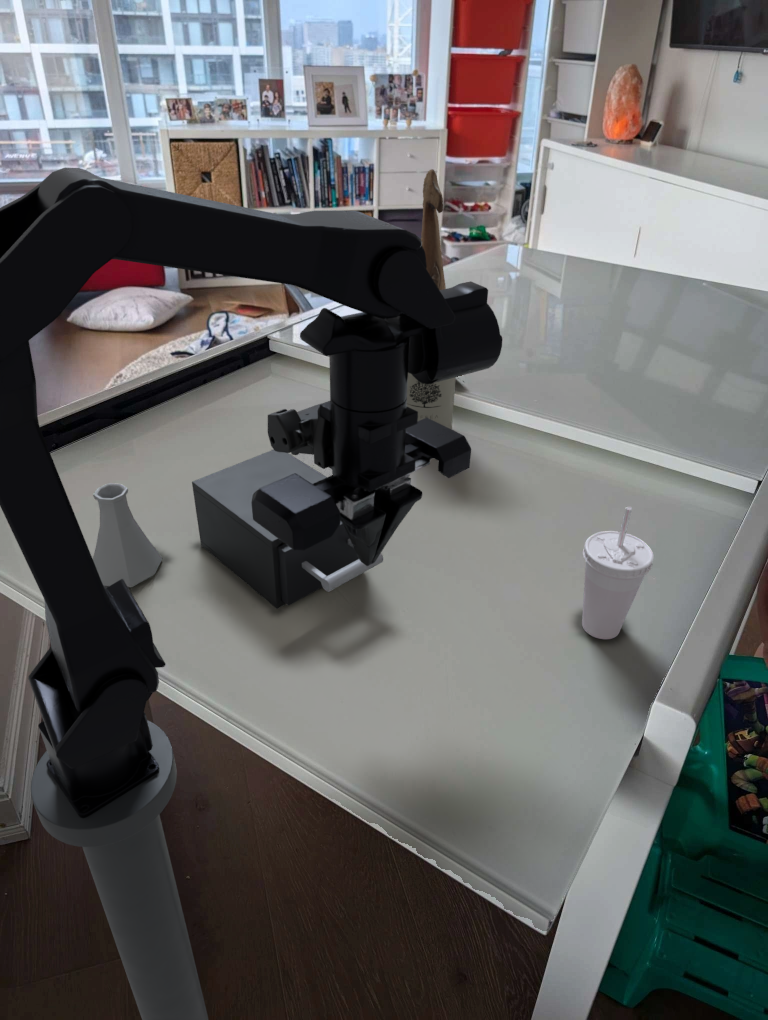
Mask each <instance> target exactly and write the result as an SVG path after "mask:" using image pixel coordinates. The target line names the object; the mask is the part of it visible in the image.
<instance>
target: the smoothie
mask: <svg viewBox="0 0 768 1020" xmlns="http://www.w3.org/2000/svg"><path fill="white" fill-rule="evenodd" d="M632 510H633V508H632V506H626V507H625V508H624V512H623V513H624V514H623V517H622V522H621V525H620V529H619V531H617V530H604V531H603V530H602V531H598V532H595V533H593V534H592V535H590V536H588V538H587V539H586V540H585V542H584V547H583V549H582V557H583V559H584V561H585V564H584V581H583V585H584V587H583V600H582V601H583V602H582V617H581V619H582V620H581V626H582V628H583V630H584V632H586V633H587V635H590V636H591V637H593V638H596V639H600V640H611V639H614V638H616V637H617V636H618V635H619V634H620V632H621V630H622V627H623V625H624V623H625V621H626V619H627V616H628V614H629V612H630V609H631V607H632V605H633V602H634V600H635V598H636V596H637V593H638V592H639V589H640V586H641V585H642V584H643V583H642V582H643V580H644V578H645V576H647V574H648V573H649V572H650V571H651V570H652V569H653V562H654V557H655V555H654V552H653V550H652V548H651V547H650V546H649V545H648V544H647V543H646V541H644V540H642V539H641V538H639V537H637V536H635V535H634V534H630V533H627V532H628V531H627V530H628V526H629V523H630V518H631V515H632Z"/></svg>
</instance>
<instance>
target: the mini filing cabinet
mask: <svg viewBox="0 0 768 1020" xmlns="http://www.w3.org/2000/svg"><path fill="white" fill-rule="evenodd" d="M294 473H296V474H298V475H299V476H301V477H302V478H304V479H305V480H307V481H309V482H310V483H312V484H313V483H316V482H318V481H320V480H322V479H325V478H327V477H328V476H326V475H324V474H323V473H322V472H320V471H318V470H316V469H315V468H314V467H312V466H311V465H308V464H307V463H305V462H303V461H302V460H300V459H299V458H297V457H296V456H295V455H292V454H291V453H284V452H276V451H275V450H274V449H272V450H269V451H265V452H263V453H260V454H259V455H255V456H254V457H251V458H248V459H246V460H243V461H240V462H238V463H236V464H232V465H231V466H227V467H225V468H223V469H221V470H218V471H216V472H215V471H214V472H213V473H211V474H208V475H205V476H203V477H200V478H198V479H195V480H193V481H191V484H192V485H191V486H192V492H193V500H194V505H195V507H194V508H195V513H196V520H197V526H198V533H199V534H198V535H199V540H200V546H201V547H202V548H203V549H205V550H206V551H207V552H208V553H209V554H211V555H212V557H214V558H215V559H216V560H218V561H219V562H220V563H221V564H222V565H224V566H225V567H226V568H227V569H228V570H229V571H231V572H232V573H233V574H234V575H235V576H237V577H238V578H239V579H240V580H241V581H243V582H244V583H245V584H246V585H247V586H249V587H250V588H251V589H252V590H253V591H254V592H256V593H257V594H258V595H259V596H260V597H262V598H263V599H264V600H265V601H266V602H268V603H269V604H270V605H271V606H272V607H274V608H275V609H276V610H279V609H280V608H282V607H284V606H286V605H287V604H286V603H284V602H283V601H282V600H281V587H280V573H279V559H278V547H279V545H280V544H282V543H284V542H282V541H281V540H280V539H278V538H277V537H275V536H274V535H273V534H271V533H270V532H269V531H267V530H266V529H265V528H263V527H262V526H261V525H259V524H258V523H257V522H255V521H254V520H253V514H252V504H251V501H252V496H253V493H255V492H256V491H257V490H258V489H259V488H261V487H264V486H266V485H268V484H271V483H273V482H276V481H278V480H280V479H283V478H285V477H287V476H290V475H292V474H294Z"/></svg>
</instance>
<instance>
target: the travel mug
mask: <svg viewBox="0 0 768 1020" xmlns="http://www.w3.org/2000/svg"><path fill="white" fill-rule="evenodd" d="M456 378H457V377H455V378H451V379H447V380H443V381H440V382H436V383H432V384H424V383H421V382H419V381H418V380H417V379H416V378H415V377H413V376H412V374H410V373H408V384H407V407H409V408H411V409H414V410H416V411H418V421H420V420H422V419H424V418H429V419H431V420H433V421H435V422H437V423H439V424H441V425H443V426H445V427H448V428H450V429H452V430H453V419H454V418H453V417H454V404H455V391H456Z"/></svg>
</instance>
